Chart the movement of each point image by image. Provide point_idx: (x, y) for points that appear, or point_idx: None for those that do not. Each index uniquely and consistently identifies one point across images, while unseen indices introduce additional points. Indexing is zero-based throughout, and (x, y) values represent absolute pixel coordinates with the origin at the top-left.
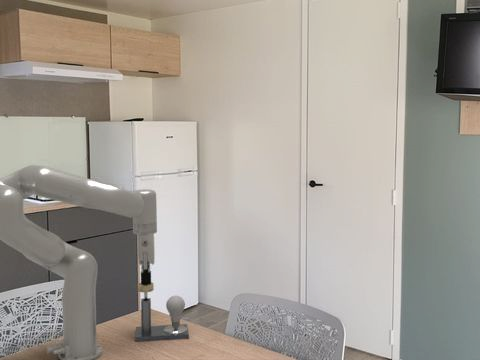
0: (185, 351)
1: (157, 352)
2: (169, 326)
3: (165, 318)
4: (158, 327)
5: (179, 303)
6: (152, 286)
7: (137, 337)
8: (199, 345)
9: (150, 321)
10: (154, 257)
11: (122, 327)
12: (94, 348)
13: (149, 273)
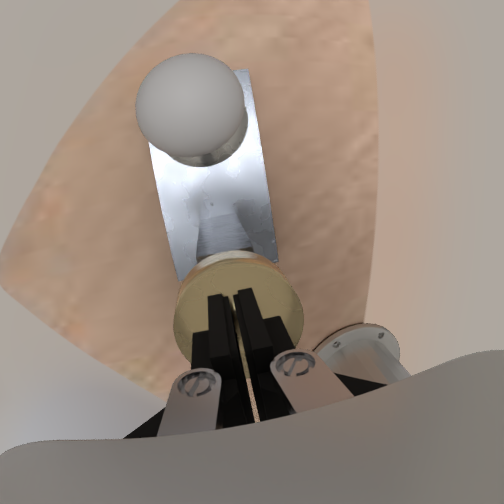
0: (351, 82)
1: (359, 168)
2: None
3: (51, 196)
4: (179, 193)
5: (232, 72)
6: (261, 264)
7: (276, 252)
8: (304, 39)
9: (240, 222)
10: (274, 490)
11: (151, 325)
12: (375, 344)
13: (272, 351)
